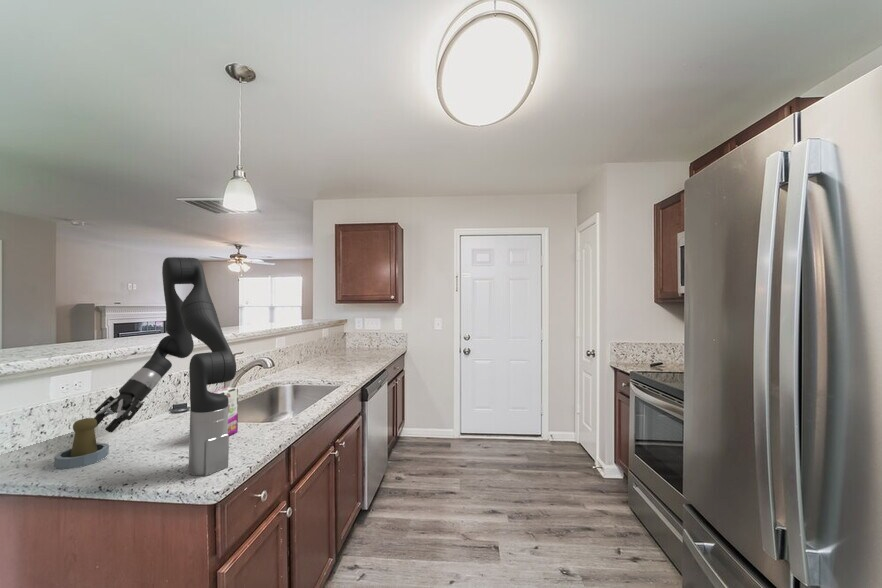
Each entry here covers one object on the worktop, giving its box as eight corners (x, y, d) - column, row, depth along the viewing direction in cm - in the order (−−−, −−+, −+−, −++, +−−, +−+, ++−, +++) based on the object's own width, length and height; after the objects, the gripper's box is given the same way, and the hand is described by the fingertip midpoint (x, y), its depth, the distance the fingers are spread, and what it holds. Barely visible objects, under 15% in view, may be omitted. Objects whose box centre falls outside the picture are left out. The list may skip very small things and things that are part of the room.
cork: (77, 461, 102) (79, 423, 102) (64, 458, 104) (65, 421, 104) (102, 452, 108) (104, 417, 108) (89, 450, 109) (90, 415, 110)
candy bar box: (226, 431, 129) (227, 386, 129) (238, 432, 128) (239, 387, 128) (200, 443, 118) (201, 394, 118) (213, 444, 117) (214, 395, 117)
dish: (114, 456, 107) (114, 447, 107) (63, 472, 97) (63, 462, 97) (98, 449, 112) (99, 440, 112) (48, 463, 102) (49, 453, 102)
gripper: (118, 376, 119) (73, 421, 108) (147, 379, 115) (104, 426, 104) (135, 388, 124) (93, 432, 113) (163, 392, 120) (124, 438, 109)
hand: (98, 429), depth 108 cm, fingers open, 8 cm apart
